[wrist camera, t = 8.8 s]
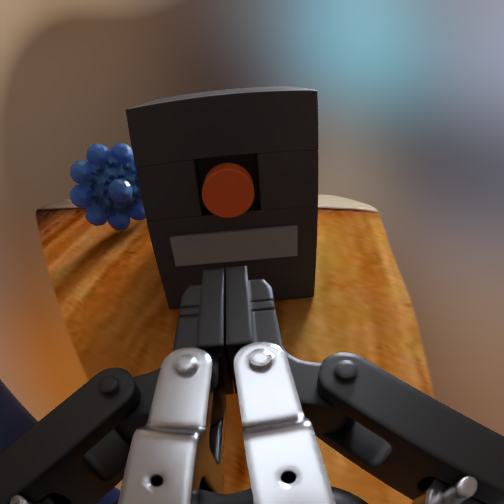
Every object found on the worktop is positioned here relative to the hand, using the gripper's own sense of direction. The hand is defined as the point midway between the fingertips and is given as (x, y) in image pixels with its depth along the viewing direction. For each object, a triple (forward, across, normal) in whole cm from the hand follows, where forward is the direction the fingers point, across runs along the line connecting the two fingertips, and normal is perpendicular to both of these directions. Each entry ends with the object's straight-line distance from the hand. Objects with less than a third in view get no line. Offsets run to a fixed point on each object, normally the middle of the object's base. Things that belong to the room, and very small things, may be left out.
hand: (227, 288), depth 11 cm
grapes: (+27, +14, +10) cm, 32 cm away
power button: (+10, 0, +2) cm, 10 cm away
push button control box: (+16, 0, +10) cm, 19 cm away
